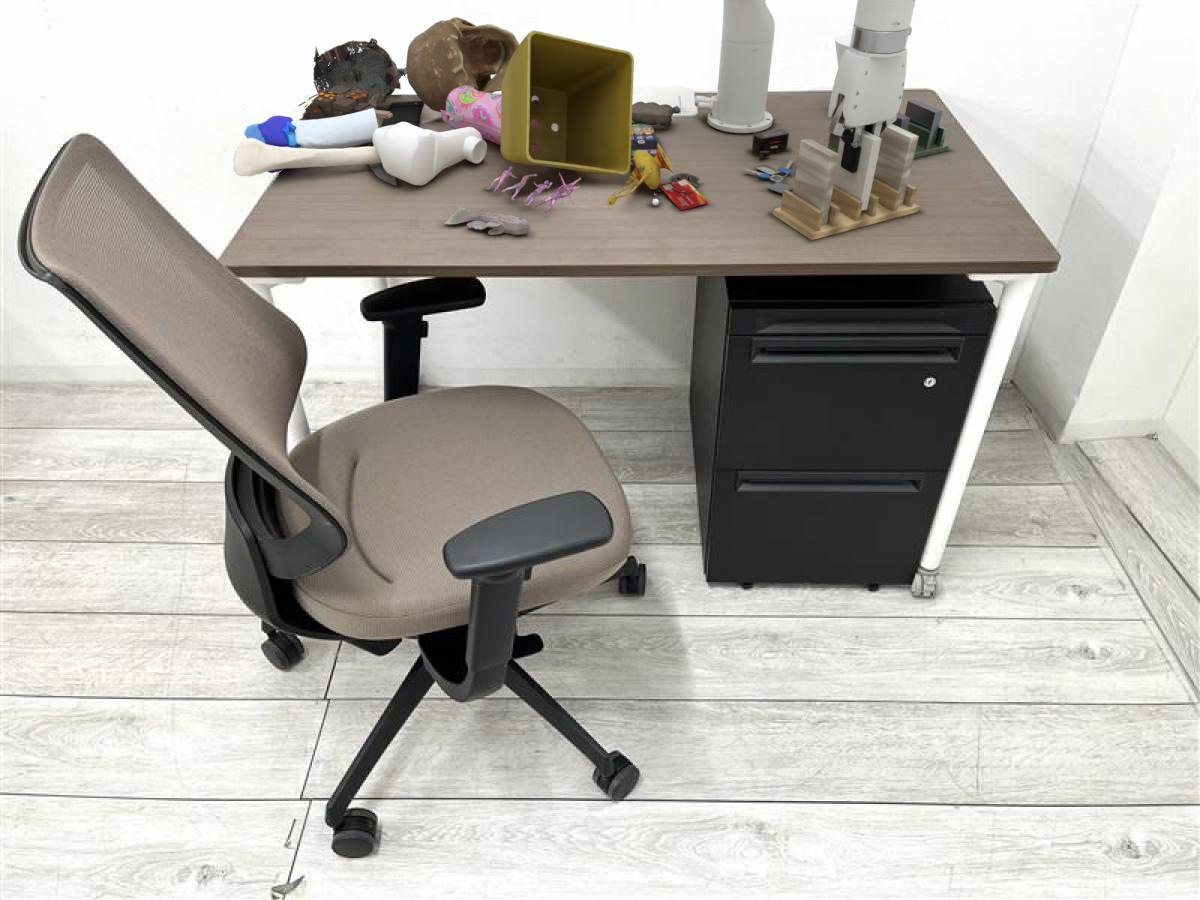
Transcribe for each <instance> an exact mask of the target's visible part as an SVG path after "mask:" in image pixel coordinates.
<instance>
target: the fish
mask: <svg viewBox="0 0 1200 900" xmlns="http://www.w3.org/2000/svg"><path fill="white" fill-rule="evenodd" d="M472 211H473V212H474V213H473V212H472ZM472 211H471V210H470V209H468V208H466V207H461V206H460V207H459V208H458V210H457V211H456V212H455V211H454V213H452V215H451V216H449V217H448V219H447V220H446V221H444V222H443V224H444V225H459V224H462V223H466V226H467V227H468V228H469V229H471V228H473V229H475V230H480V231H482V230H484V229H486V228H490V229H489V230H488V231H487V234H488V235H490V236H492V235H501V234H503V233H505V234H510V235H517V236H521V235H526V234H528V233H529V232H531V223H530V222H529V221H528V220H526V219H524V218H522V217H520V216H516V215H510V214H505V213H498V212H492V211H488V210H485V211H484V210H483V209H482V210H478V209H473V210H472ZM467 222H468V223H467Z"/></svg>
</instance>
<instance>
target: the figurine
mask: <svg viewBox="0 0 1200 900" xmlns="http://www.w3.org/2000/svg"><path fill="white" fill-rule="evenodd" d="M313 63H314V67H313V73H312V74H313V84H314V87H315V90H316V94H318V93H319V92H322V91H324V92H323V93H327V91H328V90H330V89H331V88H333V87H335V86H342V87H346V88H351V91H353V90H354V89H355V90H356V89H360V91H364V92H365V91H367V92H368V93H369V97H370V98H369V99H368V100H367V103H369V105H370V107H376V108H378V107H379V106H380V105H381V104H383V103H385V102H386V100H387V99H388V98H389V97H391V96H392V95H393V94H394V92H395V91H396V89H397V90H402V87H401V81H399V79H400V78H401V76H403V75H404V76H405V77H406V76H407V70H406V66H405V67H404V68H401V67H400V68H398V65H397V64H396V62H395V61H394V60H393V59H392V57H391V55H390V54H389V52H388V51H387V50H386V49H384V48H383V47H382V46H380V45H379V44H378V40H377V39H375V38H373V37H370V39H369V41H366V40H355V39H353V40H349V41H346V42H344V43H343V44H339V45H336V46H334V47H332V48H331V49H329V50H326V51H324V52H322V53H321V54H319V51H318V47H315V50H314V57H313ZM328 65H329V66H328Z"/></svg>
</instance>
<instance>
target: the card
mask: <svg viewBox="0 0 1200 900" xmlns="http://www.w3.org/2000/svg"><path fill="white" fill-rule="evenodd" d="M671 187H672V188H671ZM659 188H661V191H663V192H664V193H665V194H666V195H667V196H668V198H669V199H670V200H671V202H673V203H674V205H676V207H677V208H678V209H679V210H680V211H685V210H688V209H689V210H690V209H692V208H696V207H699V206H702V205H706V204H708V203H709V201H708V200H707V198H705V196H703V194H702V193H701V192H700V191H698V190H696V189H695V187H694V186H693V185H692V184H691V183H690V182H689V181H688V180H687V179H682V180H678V181H673V182H671V181H669V182H668V183H665V184H661V185H659ZM673 188H675V189H676V190H675V189H673ZM685 188H686V190H685ZM677 190H678V191H677ZM694 190H696V191H694ZM680 191H682V192H689V193H682V192H680ZM690 191H693V192H690Z"/></svg>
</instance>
